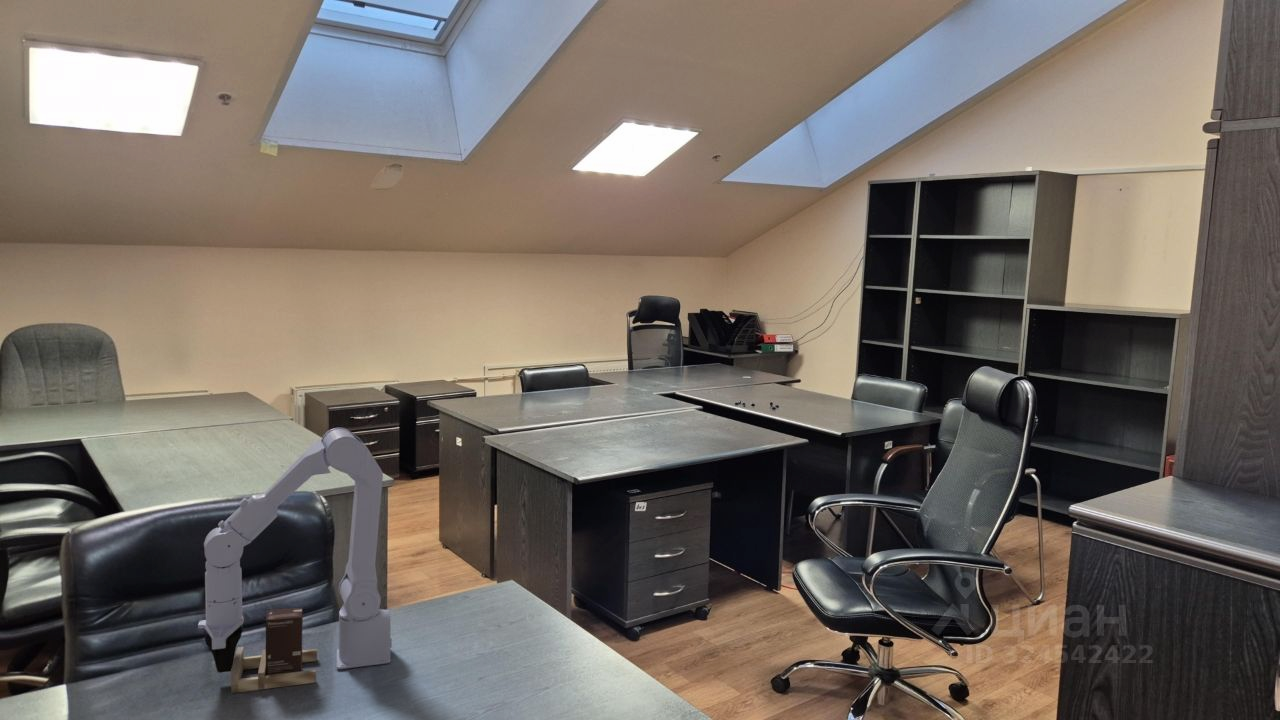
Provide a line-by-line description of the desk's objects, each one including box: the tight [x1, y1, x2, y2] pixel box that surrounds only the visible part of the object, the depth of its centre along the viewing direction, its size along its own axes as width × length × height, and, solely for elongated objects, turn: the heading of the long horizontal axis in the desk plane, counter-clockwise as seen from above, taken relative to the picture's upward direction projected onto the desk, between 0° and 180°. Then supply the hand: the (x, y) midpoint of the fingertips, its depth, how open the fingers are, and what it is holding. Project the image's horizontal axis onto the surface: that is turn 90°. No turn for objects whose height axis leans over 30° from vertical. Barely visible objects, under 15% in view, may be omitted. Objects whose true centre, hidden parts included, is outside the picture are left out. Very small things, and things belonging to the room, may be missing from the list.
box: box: [265, 607, 304, 676], centre depth 145 cm, size 6×4×12 cm
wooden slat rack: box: [230, 646, 318, 694], centre depth 145 cm, size 14×9×4 cm
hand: (224, 670), depth 142 cm, fingers closed, pressing on wooden slat rack
